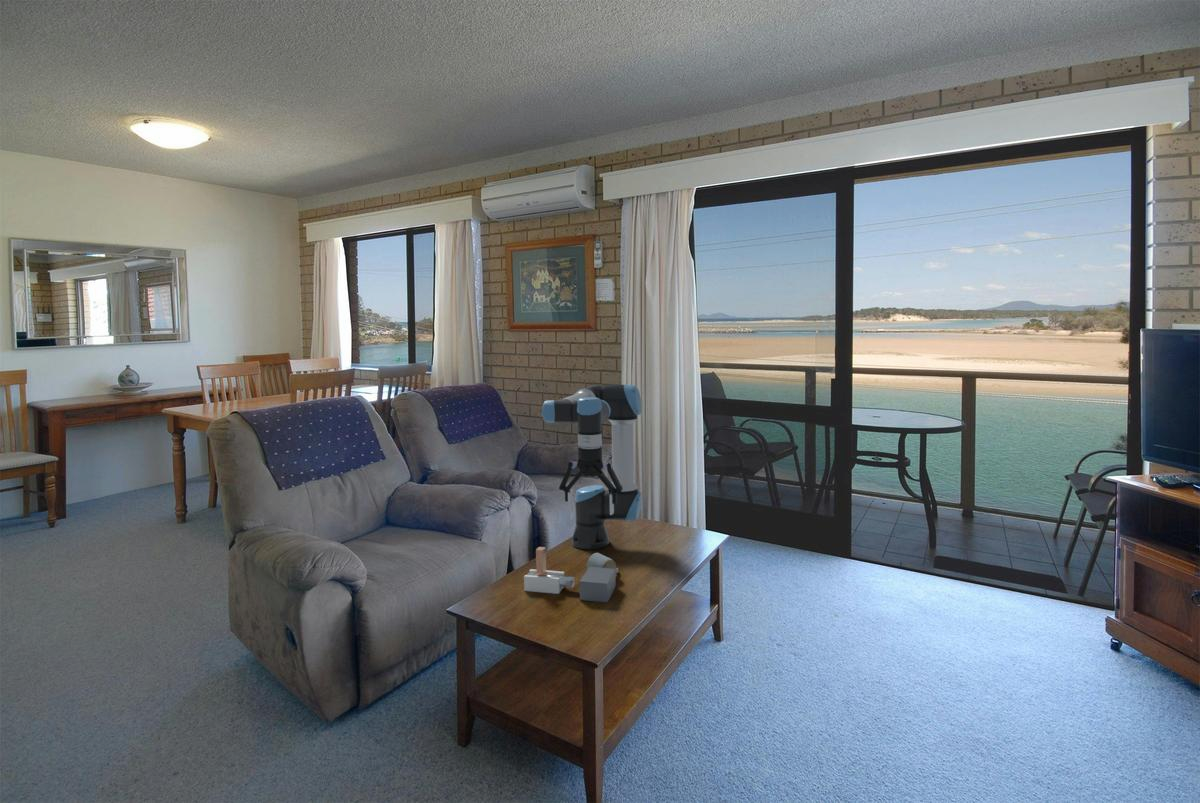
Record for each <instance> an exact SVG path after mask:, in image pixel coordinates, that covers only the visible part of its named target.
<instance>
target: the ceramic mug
mask: <svg viewBox="0 0 1200 803" xmlns="http://www.w3.org/2000/svg"><path fill="white" fill-rule="evenodd" d="M616 564H617V563H616V561H614V559H612V558H610V557H608V556H606V555H604V554H601V553H600V552H594V553H592V554H591V555H590V556H589V557H588V560H587V564H586V569H587V570H588V568H589V567H597V568H610V569H615V574H618V573H619V568H618V567H617V565H616ZM587 570H586V571H587Z"/></svg>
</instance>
